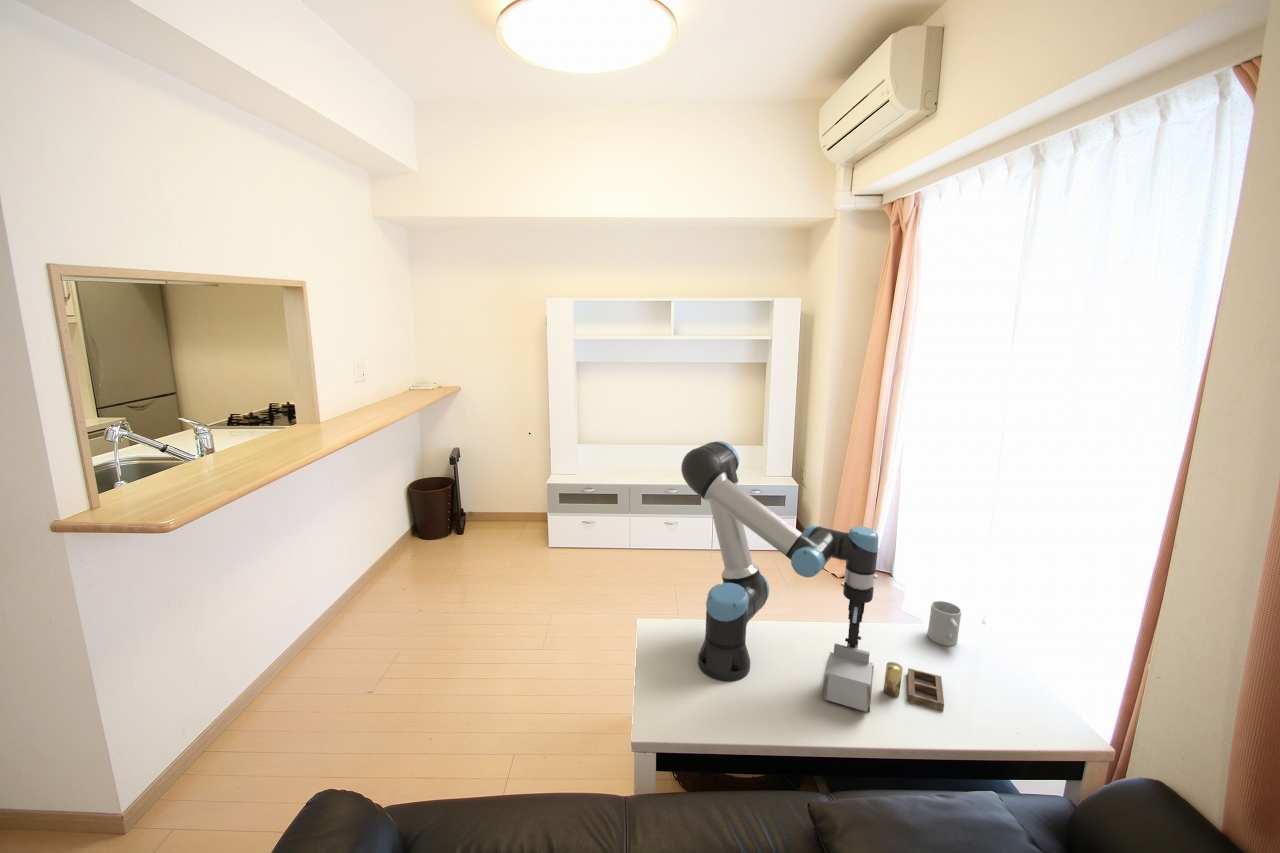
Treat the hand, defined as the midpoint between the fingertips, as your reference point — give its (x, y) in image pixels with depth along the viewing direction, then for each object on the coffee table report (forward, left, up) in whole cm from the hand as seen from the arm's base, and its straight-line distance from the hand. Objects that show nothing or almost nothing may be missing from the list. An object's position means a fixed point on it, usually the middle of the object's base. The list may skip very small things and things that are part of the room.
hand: (850, 661), depth 154 cm
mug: (+26, +35, -7) cm, 44 cm away
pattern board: (0, -1, -6) cm, 6 cm away
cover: (0, -8, -5) cm, 9 cm away
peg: (+11, 0, -6) cm, 13 cm away
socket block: (+19, +5, -6) cm, 21 cm away
